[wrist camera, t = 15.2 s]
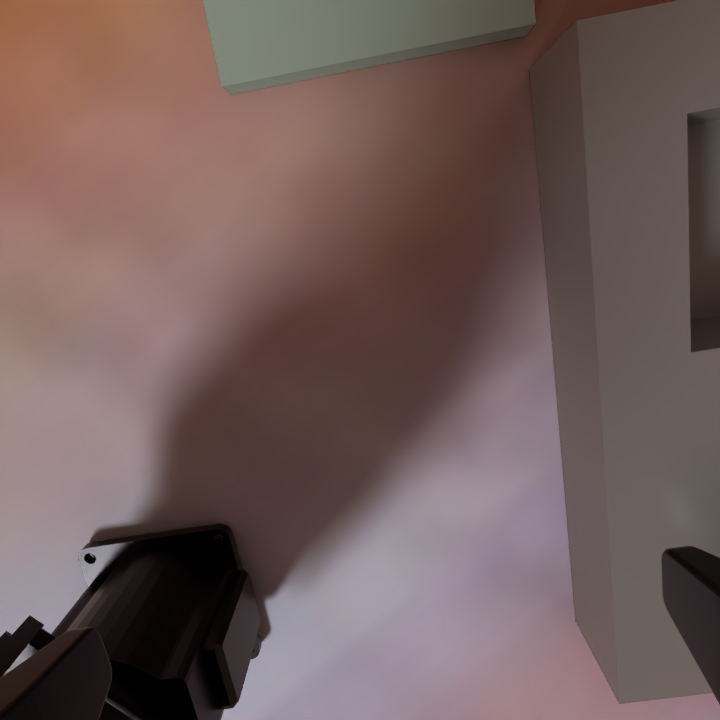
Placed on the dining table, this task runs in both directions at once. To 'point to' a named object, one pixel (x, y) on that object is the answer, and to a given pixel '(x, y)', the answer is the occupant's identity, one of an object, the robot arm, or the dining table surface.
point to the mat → (348, 34)
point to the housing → (634, 318)
